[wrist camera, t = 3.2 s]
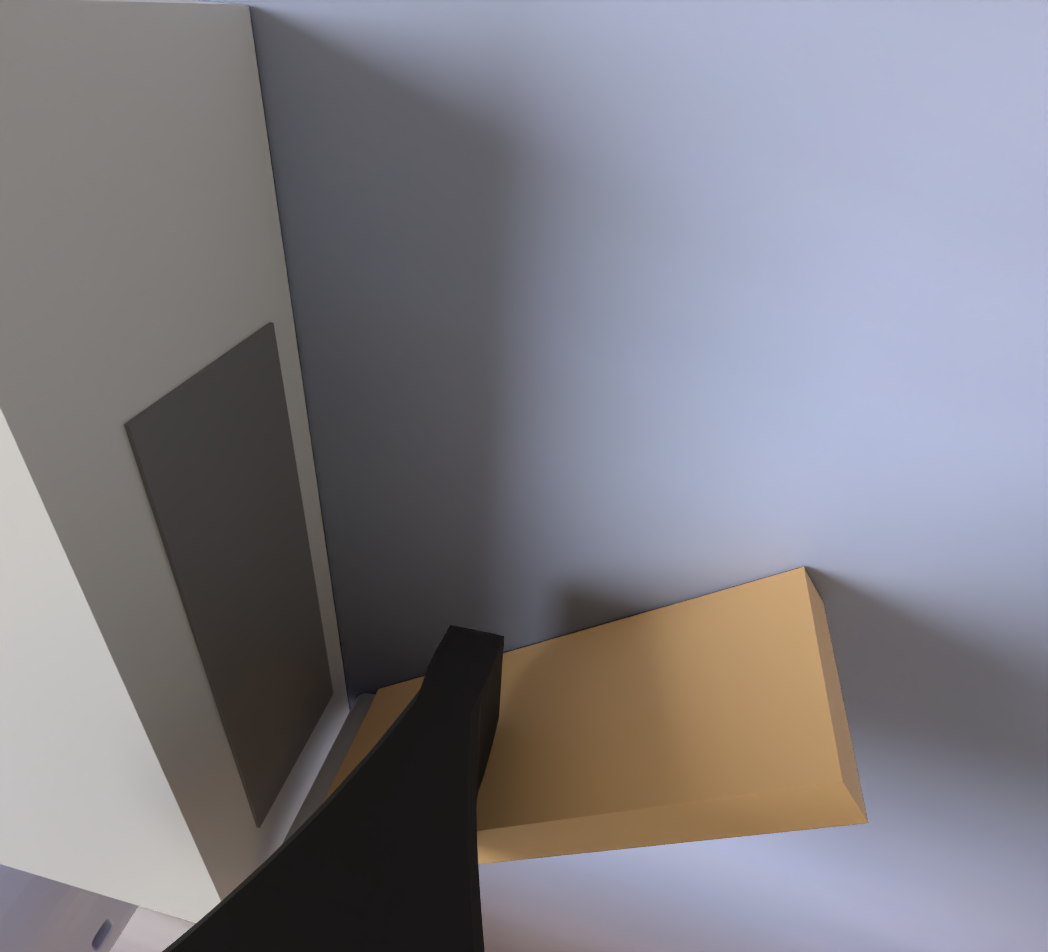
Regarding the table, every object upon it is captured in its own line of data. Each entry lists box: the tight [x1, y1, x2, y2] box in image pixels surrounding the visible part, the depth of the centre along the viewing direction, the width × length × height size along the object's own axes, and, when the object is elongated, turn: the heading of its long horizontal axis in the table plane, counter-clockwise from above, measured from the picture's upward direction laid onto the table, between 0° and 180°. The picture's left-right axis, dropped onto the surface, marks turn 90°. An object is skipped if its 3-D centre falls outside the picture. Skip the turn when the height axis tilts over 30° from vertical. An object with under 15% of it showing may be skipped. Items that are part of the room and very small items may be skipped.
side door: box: [282, 567, 868, 864], centre depth 11 cm, size 10×1×4 cm, turn 124°
